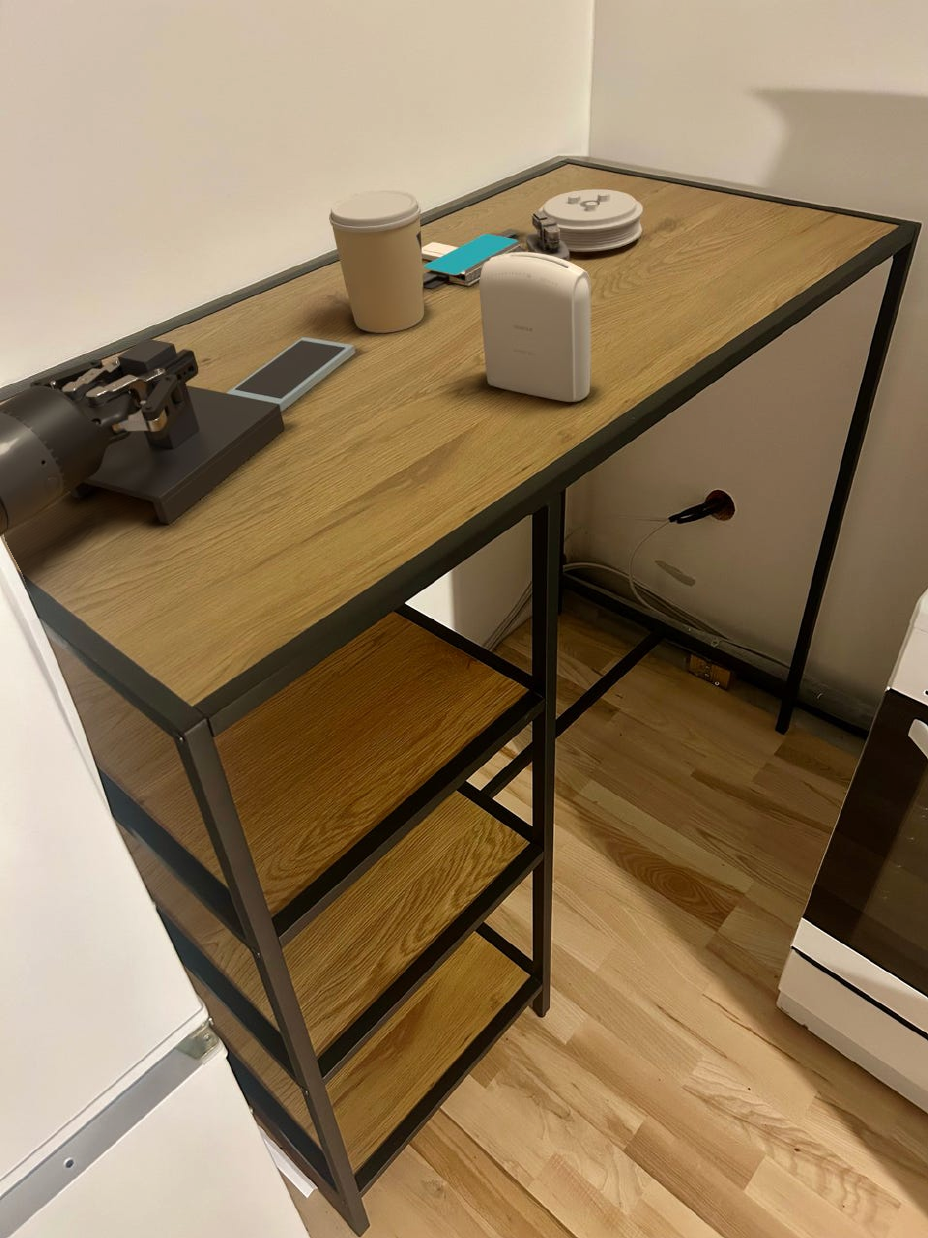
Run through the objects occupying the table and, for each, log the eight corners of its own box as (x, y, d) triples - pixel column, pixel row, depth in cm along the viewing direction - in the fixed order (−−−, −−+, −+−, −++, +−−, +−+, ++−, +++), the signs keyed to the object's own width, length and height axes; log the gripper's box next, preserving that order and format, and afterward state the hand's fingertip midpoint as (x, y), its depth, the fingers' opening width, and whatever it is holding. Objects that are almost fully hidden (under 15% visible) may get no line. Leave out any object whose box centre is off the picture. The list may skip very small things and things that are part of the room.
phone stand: (473, 226, 121) (473, 213, 120) (548, 241, 115) (548, 227, 113) (369, 280, 110) (367, 266, 109) (445, 299, 104) (444, 285, 103)
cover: (169, 524, 74) (126, 406, 67) (72, 497, 79) (22, 383, 72) (285, 429, 85) (259, 317, 78) (193, 409, 89) (160, 302, 82)
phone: (281, 412, 87) (279, 403, 86) (227, 401, 90) (225, 392, 89) (355, 353, 95) (353, 344, 95) (304, 344, 98) (302, 335, 97)
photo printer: (479, 387, 88) (469, 256, 79) (502, 368, 90) (495, 239, 82) (576, 409, 83) (576, 273, 75) (597, 388, 85) (599, 254, 77)
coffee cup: (448, 315, 100) (438, 200, 92) (379, 344, 96) (361, 226, 88) (398, 293, 106) (384, 182, 98) (331, 319, 102) (310, 206, 94)
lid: (657, 228, 115) (659, 185, 112) (615, 265, 107) (617, 220, 104) (565, 218, 120) (565, 177, 117) (520, 252, 113) (518, 209, 109)
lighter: (576, 327, 96) (576, 228, 89) (545, 333, 95) (542, 234, 89) (551, 298, 102) (550, 203, 95) (522, 303, 101) (518, 209, 95)
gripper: (69, 431, 62) (230, 324, 73) (-69, 397, 67) (100, 303, 78) (107, 522, 67) (252, 410, 78) (-24, 484, 72) (129, 384, 83)
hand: (175, 357), depth 78 cm, fingers closed on cover, 3 cm apart
